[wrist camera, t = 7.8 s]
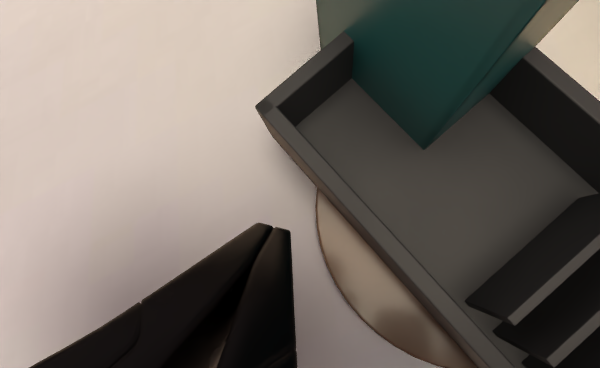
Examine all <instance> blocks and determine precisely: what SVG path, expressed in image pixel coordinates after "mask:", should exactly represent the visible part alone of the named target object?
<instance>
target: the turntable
mask: <svg viewBox="0 0 600 368" xmlns="http://www.w3.org/2000/svg"><path fill="white" fill-rule="evenodd" d="M316 223H317V231H318V236H319V241H320V246H321V250H322V253H323V256H324V259H325V262H326V265H327V267H328V269H329V271H330V273H331V275H332V278H333V280H334V282H335V284H336V285H337V287H338V289H339V290H340V292H341V293H342V295H343V296H344V298H345V300H346V301H347V302H348V304H349V305H350V306H351V307H352V308H353V310H354V311H355V312H356V313H357V314H358V316H359V317H360V318H361V319H362V320H363V321H364V322H365V323H366V324H367V325H368V326H369V327H371V328H372V329H373V330H374V331H375V332H376V333H377V334H378V335H380V336H381V337H383V338H384V339H385V340H387V341H388V342H389V343H391V344H392V345H394V346H395V347H397V348H399V349H401V350H402V351H404V352H406V353H408V354H410V355H411V356H413V357H415V358H418V359H420V360H423V361H426V362H428V363H431V364H433V365H436V366H440V367H444V368H478V367H477V366H476V365H475V364H474V362H473V361H472V360H471V359H470V358H469V357H468V356H467V355H466V353H465V352H464V351H463V350H462V349H461V348H460V347H459V346H458V344H457V343H456V342H455V341H454V340H453V339H452V338H451V337H450V335H449V334H448V333H447V332H446V331H445V330H444V329H443V328H442V326H441V325H440V324H439V323H438V322H437V321H436V320H435V319H434V317H433V316H432V315H431V314H430V313H429V312H428V311H427V310H426V308H425V307H424V306H423V305H422V304H421V303H420V302H419V301H418V299H417V298H416V297H415V296H414V295H413V294H412V293H411V292H410V291H409V289H408V288H407V287H406V286H405V285H404V284H403V283H402V282H401V280H400V279H399V278H398V277H397V276H396V275H395V274H394V273H393V271H392V270H391V269H390V268H389V267H388V266H387V265H386V264H385V262H384V261H383V260H382V259H381V258H380V257H379V256H378V255H377V253H376V252H375V251H374V250H373V249H372V248H371V247H370V246H369V244H368V243H367V242H366V241H365V240H364V239H363V238H362V237H361V235H360V234H359V233H358V232H357V231H356V230H355V229H354V228H353V226H352V225H351V224H350V223H349V222H348V221H347V220H346V219H345V217H344V216H343V215H342V214H341V213H340V212H339V211H338V210H337V209H336V207H335V206H334V205H333V204H332V203H331V202H330V201H329V200H328V198H327V197H326V196H325V195H324V194H323V193H322V192H321V191H320V189H319V188H318V187H317V195H316Z"/></svg>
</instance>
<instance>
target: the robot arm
mask: <svg viewBox="0 0 600 368" xmlns="http://www.w3.org/2000/svg"><path fill="white" fill-rule="evenodd" d="M29 368H297V352H296V335H295V315H294V294H293V274H292V253H291V234H290V231H289V230H286V229H282V228H278V227H275V228H273V227H272V226H270V225H266V224H263V223H256V224H255V225H253V226H252V227H250V228H249V229H247V230H246V231H244V232H243V233H241V234H240V235H238V236H237V237H235V238H234V239H232V240H231V241H229V242H228V243H226V244H225V245H223V246H222V247H220V248H219V249H217V250H216V251H214V252H213V253H211V254H210V255H208V256H207V257H206V258H204V259H203V260H201V261H200V262H198V263H197V264H195V265H194V266H192V267H191V268H189V269H188V270H186V271H185V272H183V273H182V274H180V275H179V276H177V277H176V278H174V279H173V280H171V281H170V282H168V283H167V284H165V285H164V286H162V287H161V288H159V289H158V290H156V291H155V292H153V293H152V294H150V295H149V296H147V297H146V298H144V299H143V300H142V301H141V303H137V304H135V305H134V306H132V307H131V308H129V309H128V310H126V311H125V312H123V313H122V314H120V315H119V316H117V317H116V318H114V319H112V320H111V321H109V322H108V323H106V324H105V325H103V326H101V327H100V328H98V329H97V330H95V331H93V332H91V333H90V334H88V335H86V336H85V337H83V338H81V339H79V340H78V341H76V342H74V343H72V344H71V345H69V346H67V347H65V348H64V349H62V350H60V351H58V352H56V353H55V354H53V355H51V356H49V357H47V358H46V359H44V360H42V361H40V362H38V363H36V364H35V365H33V366H31V367H29Z"/></svg>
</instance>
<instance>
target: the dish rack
mask: <svg viewBox="0 0 600 368" xmlns="http://www.w3.org/2000/svg"><path fill="white" fill-rule="evenodd" d="M578 1H579V0H316V5H317V15H318V25H319V36H320V46H321V51H319V52H318V53H317V54H316V55H315V56H314V57H312V58H311V59H310V60H309V61H308V62H306V63H305V64H304V65H303V66H302V67H301V68H299V69H298V70H297V71H296V72H295V73H294V74H292V75H291V76H290V77H289V78H288V79H286V80H285V81H284V82H283V83H282V84H281V85H279V86H278V87H277V88H276V89H275V90H273V91H272V92H271V93H270V94H269V95H268V96H266V97H265V98H264V99H263V100H262V101H261V102H259V103H258V104H257V105H256V106H255V107H256V109H257V111H258V113H259V115H260V116H261V118H262V120H263V121H264V123H265V125H266V126H267V128H268V130H269V132H270V133H271V135H272V137H273V138H274V139H275V140H276V141H277V142H278V143H279V144H280V146H281V147H282V148H283V149H284V150H285V151H286V152H287V153H288V155H289V156H290V157H291V158H292V159H293V160H294V161H295V162H296V164H297V165H298V166H299V167H300V168H301V169H302V170H303V171H304V173H305V174H306V175H307V176H308V177H309V178H310V179H311V180H312V182H313V183H314V184H315V185H316V186H317V187H318V188H319V189H320V191H321V192H322V193H323V194H324V195H325V196H326V197H327V198H328V200H329V201H330V202H331V203H332V204H333V205H334V206H335V207H336V209H337V210H338V211H339V212H340V213H341V214H342V215H343V216H344V217H345V219H346V220H347V221H348V222H349V223H350V224H351V225H352V226H353V228H354V229H355V230H356V231H357V232H358V233H359V234H360V235H361V237H362V238H363V239H364V240H365V241H366V242H367V243H368V244H369V246H370V247H371V248H372V249H373V250H374V251H375V252H376V253H377V255H378V256H379V257H380V258H381V259H382V260H383V261H384V262H385V264H386V265H387V266H388V267H389V268H390V269H391V270H392V271H393V273H394V274H395V275H396V276H397V277H398V278H399V279H400V280H401V282H402V283H403V284H404V285H405V286H406V287H407V288H408V289H409V291H410V292H411V293H412V294H413V295H414V296H415V297H416V298H417V299H418V301H419V302H420V303H421V304H422V305H423V306H424V307H425V308H426V310H427V311H428V312H429V313H430V314H431V315H432V316H433V317H434V319H435V320H436V321H437V322H438V323H439V324H440V325H441V326H442V328H443V329H444V330H445V331H446V332H447V333H448V334H449V335H450V337H451V338H452V339H453V340H454V341H455V342H456V343H457V344H458V346H459V347H460V348H461V349H462V350H463V351H464V352H465V353H466V355H467V356H468V357H469V358H470V359H471V360H472V361H473V362H474V364H475V365H476V366H477V367H478V368H600V101H599V100H597V99H596V98H595V97H594V96H593V95H591V94H590V93H589V92H588V91H587V90H586V89H584V88H583V87H582V86H581V85H580V84H578V83H577V82H576V81H575V80H574V79H573V78H571V77H570V76H569V75H568V74H567V73H566V72H564V71H563V70H562V69H561V68H560V67H558V66H557V65H556V64H555V63H554V62H553V61H551V60H550V59H549V58H548V57H547V56H545V55H544V54H543V53H542V52H541V51H540V50H538V49H537V48H536V47H535V46H536V45H537V44H538V43H539V42H540V41H541V40H542V39H543V38H544V37H545V36H546V35H547V33H548V32H549V31H550V30H551V29H552V28H553V27H554V26H555V25H556V24H557V23H558V22H559V21H560V20H561V19H562V18H563V17H564V15H565V14H566V13H567V12H568V11H569V10H570V9H571V8H572V7H573V6H574V5H575V4H576V3H577V2H578Z"/></svg>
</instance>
